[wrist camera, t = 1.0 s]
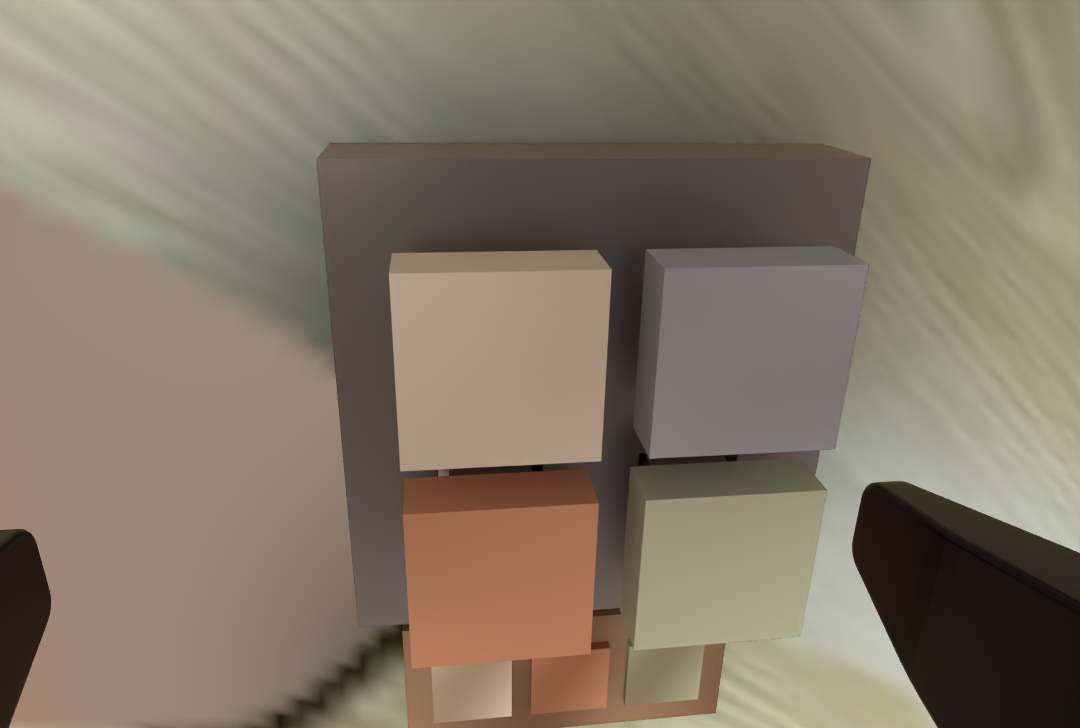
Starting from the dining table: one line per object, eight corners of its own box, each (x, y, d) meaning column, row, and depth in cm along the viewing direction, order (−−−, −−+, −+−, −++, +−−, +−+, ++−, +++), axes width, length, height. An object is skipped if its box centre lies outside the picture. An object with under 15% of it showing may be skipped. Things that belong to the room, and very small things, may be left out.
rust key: (564, 409, 20) (598, 503, 16) (560, 539, 22) (590, 654, 18) (407, 416, 20) (402, 515, 16) (414, 548, 21) (411, 669, 17)
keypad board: (822, 143, 20) (871, 158, 18) (761, 543, 24) (794, 594, 22) (329, 143, 18) (316, 159, 16) (364, 570, 23) (358, 627, 21)
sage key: (751, 401, 21) (827, 490, 17) (734, 528, 23) (800, 636, 19) (602, 408, 21) (646, 500, 17) (596, 537, 22) (633, 650, 18)
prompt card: (723, 593, 25) (733, 612, 24) (709, 698, 27) (718, 720, 26) (402, 617, 24) (402, 638, 23) (409, 726, 26) (409, 749, 25)
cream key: (571, 216, 18) (611, 269, 14) (566, 373, 20) (601, 461, 16) (397, 218, 18) (388, 274, 14) (405, 379, 20) (399, 471, 16)
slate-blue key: (776, 214, 19) (868, 264, 15) (755, 367, 21) (834, 449, 17) (613, 215, 19) (665, 268, 15) (604, 372, 20) (649, 458, 16)
